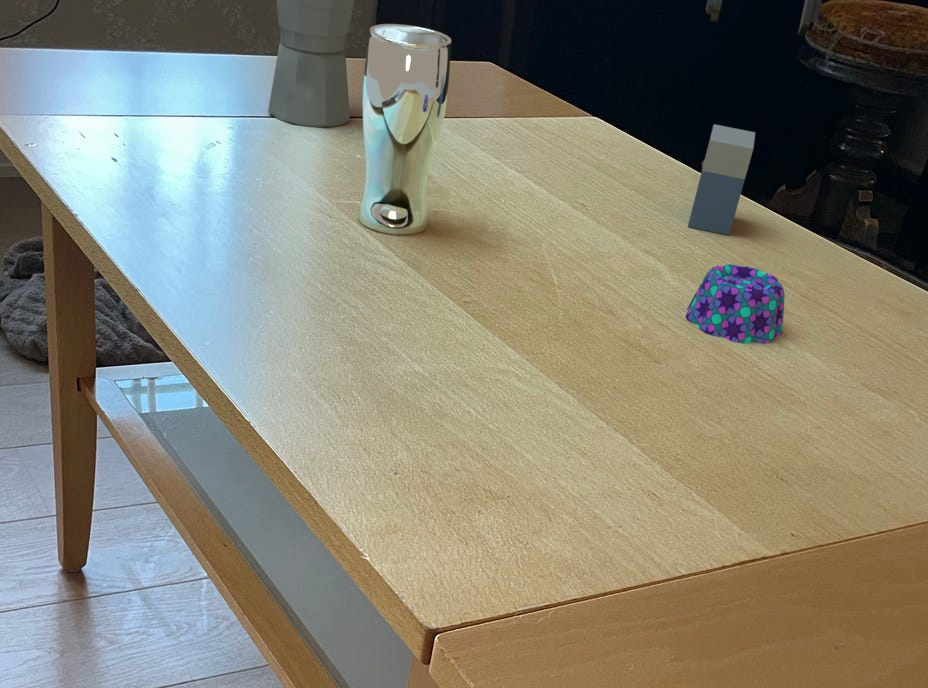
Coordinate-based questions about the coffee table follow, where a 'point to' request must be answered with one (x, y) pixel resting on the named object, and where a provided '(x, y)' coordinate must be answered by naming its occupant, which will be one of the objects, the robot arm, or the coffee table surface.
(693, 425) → the coffee table surface
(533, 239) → the coffee table surface
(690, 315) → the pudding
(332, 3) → the coffeepot
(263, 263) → the coffee table surface
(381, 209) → the beer glass
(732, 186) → the block
